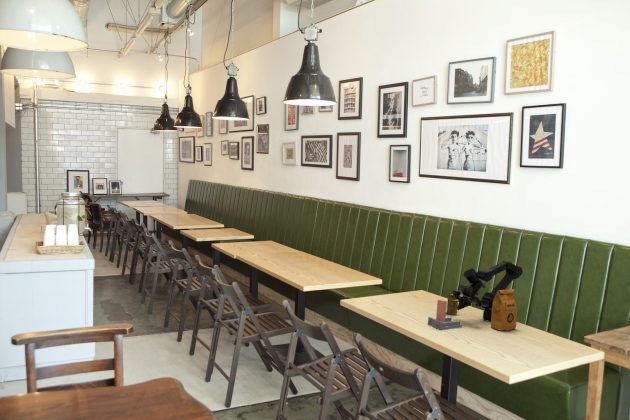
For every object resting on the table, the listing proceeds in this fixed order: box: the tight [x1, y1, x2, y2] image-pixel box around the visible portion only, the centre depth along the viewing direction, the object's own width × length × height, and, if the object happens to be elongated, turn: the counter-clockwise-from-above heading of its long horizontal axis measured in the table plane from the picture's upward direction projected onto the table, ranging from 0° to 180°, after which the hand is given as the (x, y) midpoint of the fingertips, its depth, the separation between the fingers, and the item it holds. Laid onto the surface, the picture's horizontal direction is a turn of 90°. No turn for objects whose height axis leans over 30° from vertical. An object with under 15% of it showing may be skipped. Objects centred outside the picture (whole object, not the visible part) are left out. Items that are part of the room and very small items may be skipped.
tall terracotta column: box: [435, 298, 448, 323], centre depth 289 cm, size 3×5×13 cm, turn 28°
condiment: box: [446, 293, 461, 318], centre depth 315 cm, size 7×8×12 cm
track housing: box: [427, 316, 463, 331], centre depth 291 cm, size 15×10×4 cm
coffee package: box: [490, 289, 518, 331], centre depth 290 cm, size 10×12×22 cm
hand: (457, 309), depth 294 cm, fingers closed
